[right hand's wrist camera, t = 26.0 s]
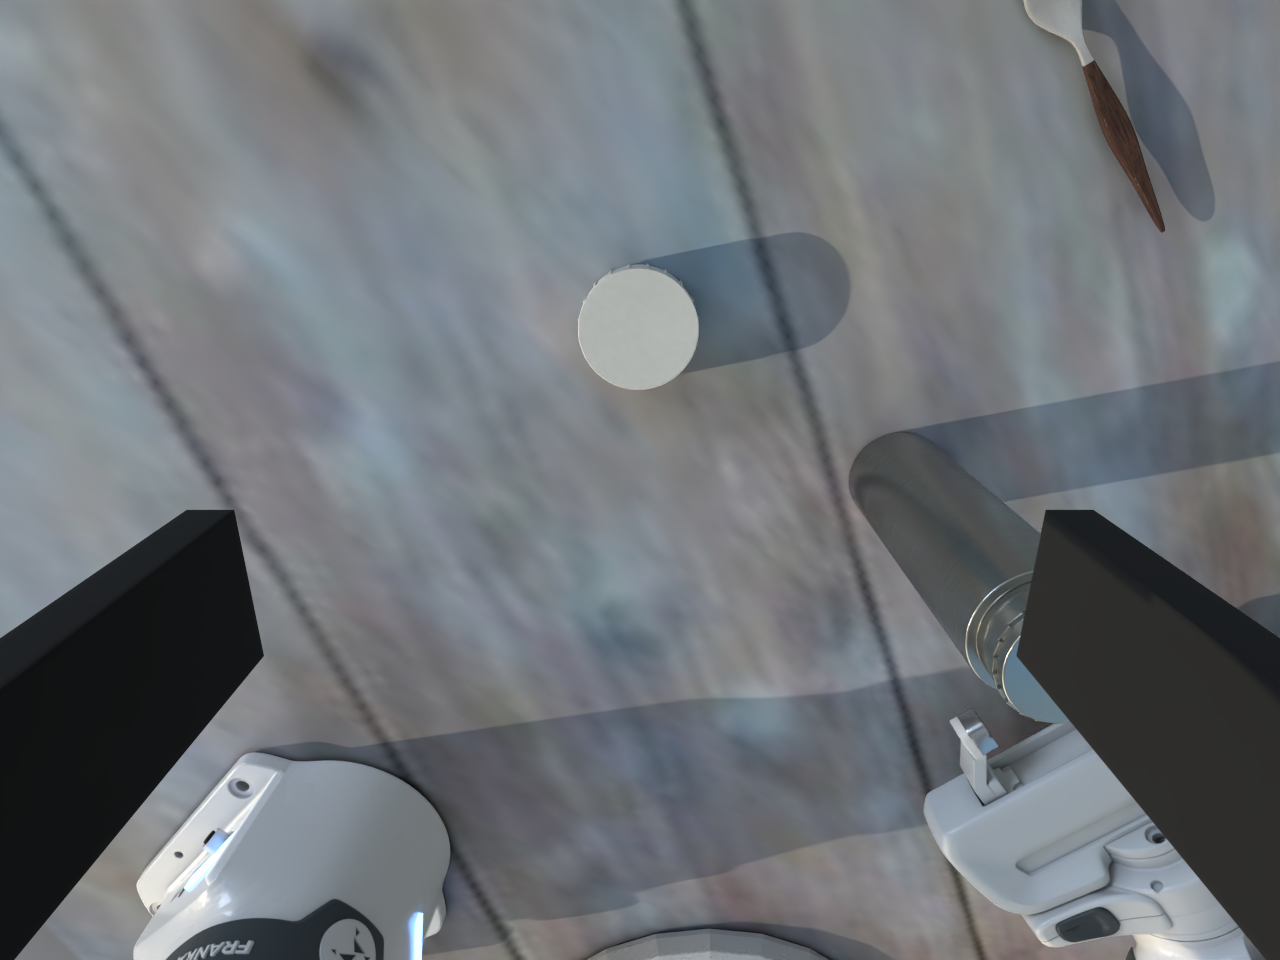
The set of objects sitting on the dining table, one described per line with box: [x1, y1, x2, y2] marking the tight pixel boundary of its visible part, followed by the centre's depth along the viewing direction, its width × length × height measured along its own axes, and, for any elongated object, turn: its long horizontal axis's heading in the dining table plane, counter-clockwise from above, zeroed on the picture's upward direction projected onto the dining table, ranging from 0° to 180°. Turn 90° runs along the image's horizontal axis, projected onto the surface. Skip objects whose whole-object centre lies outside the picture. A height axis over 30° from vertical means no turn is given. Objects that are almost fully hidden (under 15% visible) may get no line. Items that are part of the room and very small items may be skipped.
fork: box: [1024, 0, 1165, 233], centre depth 35 cm, size 3×16×2 cm, turn 35°
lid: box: [578, 264, 699, 390], centre depth 39 cm, size 6×6×2 cm
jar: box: [849, 432, 1071, 725], centre depth 34 cm, size 5×5×19 cm
